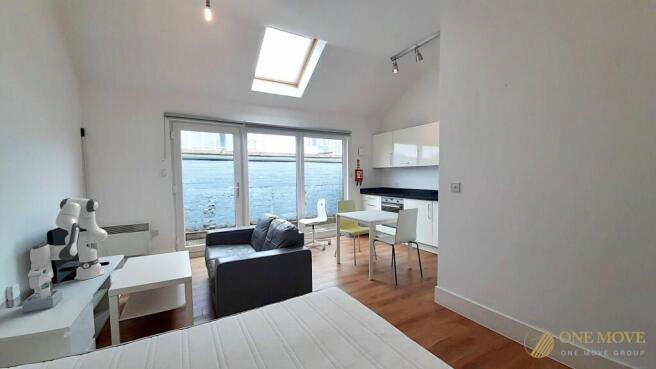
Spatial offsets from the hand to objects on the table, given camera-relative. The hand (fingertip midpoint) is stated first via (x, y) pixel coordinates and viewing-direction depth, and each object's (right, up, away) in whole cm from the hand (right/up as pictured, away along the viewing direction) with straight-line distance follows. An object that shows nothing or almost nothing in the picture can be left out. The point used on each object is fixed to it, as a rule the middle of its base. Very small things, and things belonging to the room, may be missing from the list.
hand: (43, 289), depth 165 cm
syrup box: (0, -7, 0) cm, 7 cm away
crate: (0, -11, 0) cm, 11 cm away
